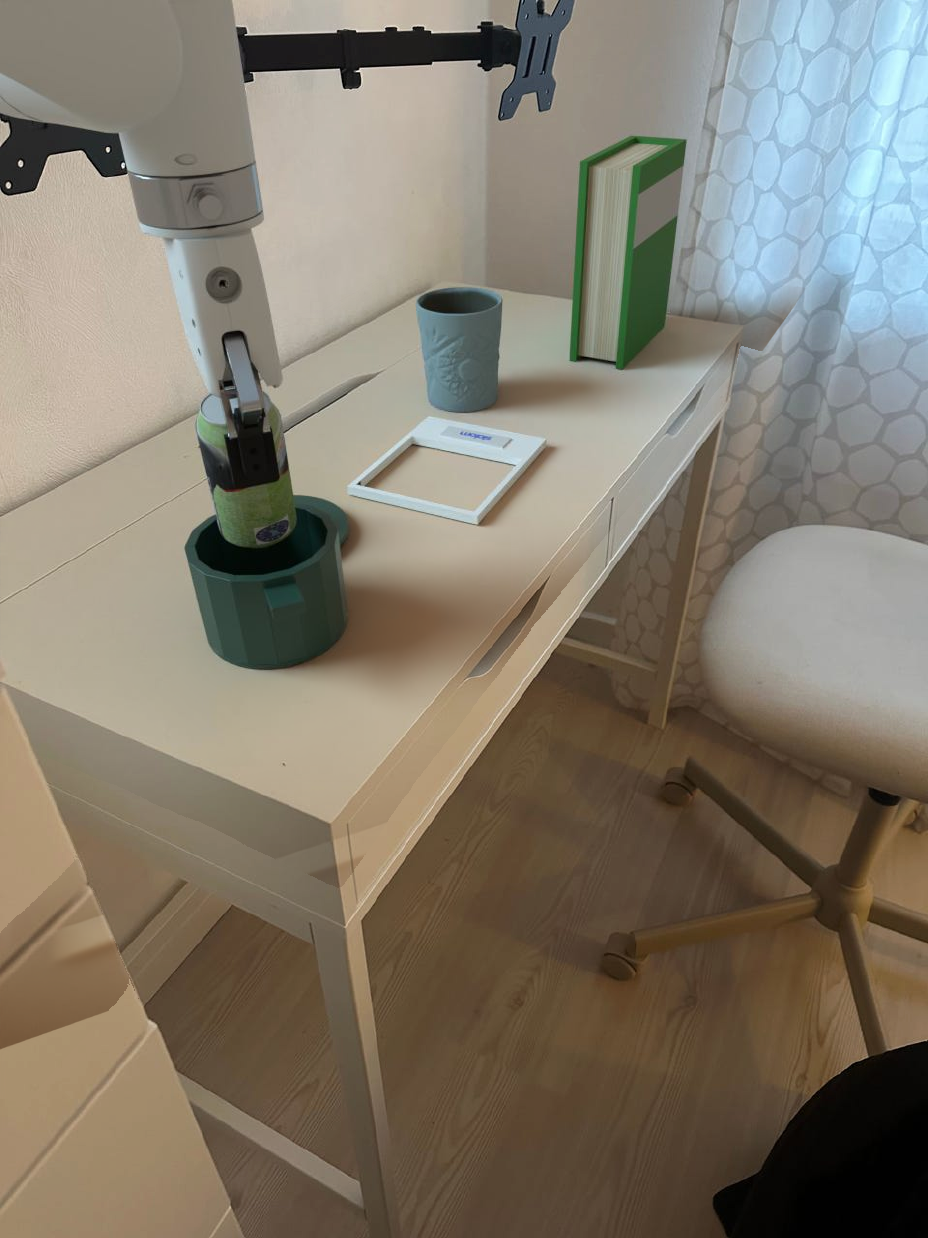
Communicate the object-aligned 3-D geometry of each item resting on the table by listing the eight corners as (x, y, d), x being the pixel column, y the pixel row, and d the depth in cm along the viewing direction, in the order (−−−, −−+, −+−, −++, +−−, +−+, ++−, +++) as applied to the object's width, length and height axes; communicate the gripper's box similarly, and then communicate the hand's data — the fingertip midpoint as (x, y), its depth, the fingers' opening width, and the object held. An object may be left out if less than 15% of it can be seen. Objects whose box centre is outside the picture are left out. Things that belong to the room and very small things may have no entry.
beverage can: (285, 507, 74) (261, 367, 67) (314, 550, 69) (292, 403, 61) (210, 527, 72) (177, 384, 64) (234, 572, 66) (201, 423, 59)
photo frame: (546, 437, 98) (477, 514, 85) (546, 446, 99) (477, 524, 86) (428, 414, 103) (346, 484, 91) (429, 423, 104) (348, 494, 91)
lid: (229, 588, 79) (216, 529, 75) (206, 520, 88) (193, 464, 84) (366, 556, 82) (360, 498, 79) (330, 494, 92) (323, 439, 88)
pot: (226, 707, 67) (204, 617, 61) (192, 586, 79) (171, 502, 74) (374, 667, 70) (365, 578, 65) (319, 556, 83) (307, 474, 77)
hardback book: (622, 369, 116) (640, 166, 101) (569, 360, 119) (579, 161, 104) (664, 326, 128) (686, 139, 114) (615, 318, 131) (631, 135, 116)
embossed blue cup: (478, 421, 105) (477, 319, 97) (404, 405, 108) (398, 306, 101) (515, 389, 112) (517, 292, 104) (445, 375, 116) (442, 280, 108)
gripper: (291, 223, 49) (328, 507, 60) (233, 165, 62) (272, 408, 73) (151, 240, 47) (216, 531, 58) (121, 176, 60) (179, 425, 71)
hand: (247, 460), depth 65 cm, fingers closed on beverage can, 6 cm apart
